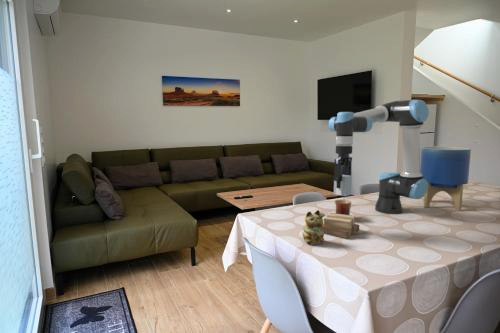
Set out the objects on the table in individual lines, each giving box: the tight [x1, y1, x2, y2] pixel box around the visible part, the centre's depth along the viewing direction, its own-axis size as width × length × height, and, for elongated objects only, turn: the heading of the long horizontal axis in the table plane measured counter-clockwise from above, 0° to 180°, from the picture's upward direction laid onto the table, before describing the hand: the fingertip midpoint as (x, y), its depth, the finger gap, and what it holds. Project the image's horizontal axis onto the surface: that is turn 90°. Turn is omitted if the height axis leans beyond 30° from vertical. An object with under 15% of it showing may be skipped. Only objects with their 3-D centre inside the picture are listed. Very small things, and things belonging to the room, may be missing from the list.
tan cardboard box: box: [320, 223, 360, 240], centre depth 159 cm, size 14×14×4 cm
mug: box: [334, 199, 352, 215], centre depth 180 cm, size 12×9×10 cm
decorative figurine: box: [302, 209, 326, 246], centre depth 146 cm, size 10×8×15 cm
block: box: [333, 174, 353, 197], centre depth 156 cm, size 6×6×9 cm
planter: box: [420, 145, 472, 212], centre depth 205 cm, size 26×26×37 cm
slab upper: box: [323, 212, 356, 231], centre depth 159 cm, size 12×12×4 cm
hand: (342, 193), depth 157 cm, fingers closed on block, 6 cm apart
